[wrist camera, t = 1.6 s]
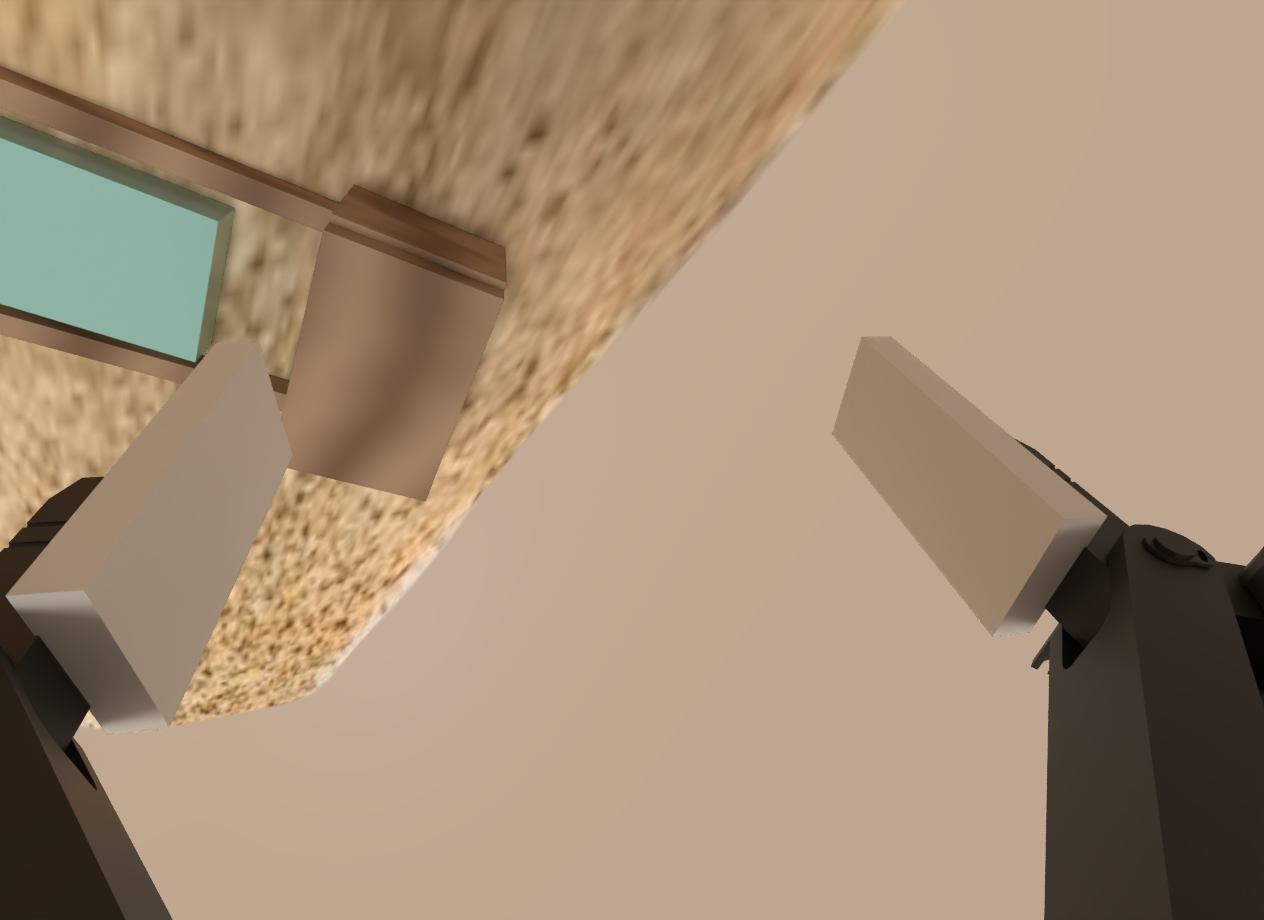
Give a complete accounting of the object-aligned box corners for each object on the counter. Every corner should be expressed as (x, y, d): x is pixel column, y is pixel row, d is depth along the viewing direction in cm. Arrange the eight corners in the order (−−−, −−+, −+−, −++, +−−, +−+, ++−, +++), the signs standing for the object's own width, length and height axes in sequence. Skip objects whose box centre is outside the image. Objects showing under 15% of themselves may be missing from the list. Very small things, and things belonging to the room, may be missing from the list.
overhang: (-66, 298, 31) (-181, 358, 26) (-93, -3, 25) (-251, -5, 20) (433, 439, 41) (424, 503, 36) (505, 248, 35) (507, 292, 29)
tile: (-64, 251, 31) (-108, 271, 28) (-74, 82, 27) (-126, 89, 25) (214, 339, 35) (195, 362, 33) (237, 206, 32) (218, 221, 29)
